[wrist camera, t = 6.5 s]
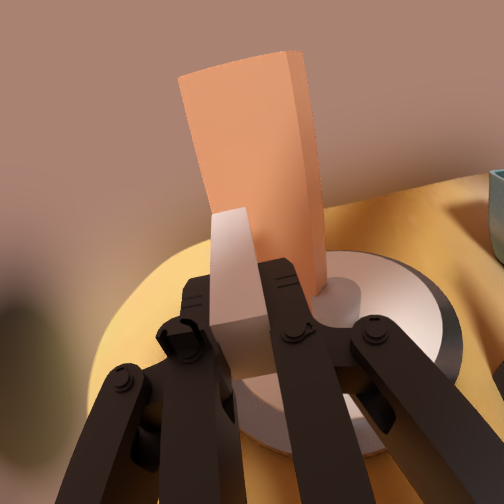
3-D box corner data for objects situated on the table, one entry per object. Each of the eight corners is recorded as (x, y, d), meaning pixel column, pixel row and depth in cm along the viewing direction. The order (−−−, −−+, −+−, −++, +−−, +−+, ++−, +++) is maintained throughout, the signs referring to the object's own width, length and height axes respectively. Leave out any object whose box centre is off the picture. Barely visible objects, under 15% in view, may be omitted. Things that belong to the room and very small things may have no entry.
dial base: (498, 341, 16) (517, 303, 14) (286, 520, 10) (278, 516, 8) (349, 238, 31) (348, 204, 29) (179, 317, 26) (163, 283, 23)
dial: (451, 283, 20) (471, 59, 11) (398, 460, 11) (534, 31, 2) (288, 245, 29) (258, 64, 20) (179, 355, 20) (73, 109, 11)
